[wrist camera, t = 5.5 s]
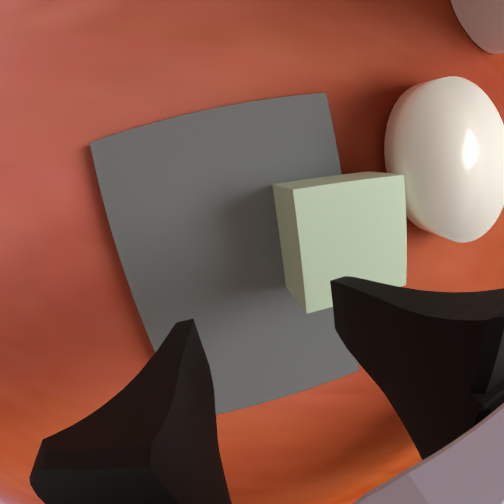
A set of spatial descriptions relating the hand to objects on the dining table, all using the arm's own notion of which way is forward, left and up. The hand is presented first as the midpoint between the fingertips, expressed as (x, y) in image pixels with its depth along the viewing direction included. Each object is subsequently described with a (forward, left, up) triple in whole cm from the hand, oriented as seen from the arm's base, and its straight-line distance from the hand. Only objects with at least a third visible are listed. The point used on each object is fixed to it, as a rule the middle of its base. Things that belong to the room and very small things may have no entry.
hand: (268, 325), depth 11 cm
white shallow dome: (+4, -13, -5) cm, 14 cm away
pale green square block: (+1, -4, -4) cm, 6 cm away
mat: (0, 0, -5) cm, 5 cm away
